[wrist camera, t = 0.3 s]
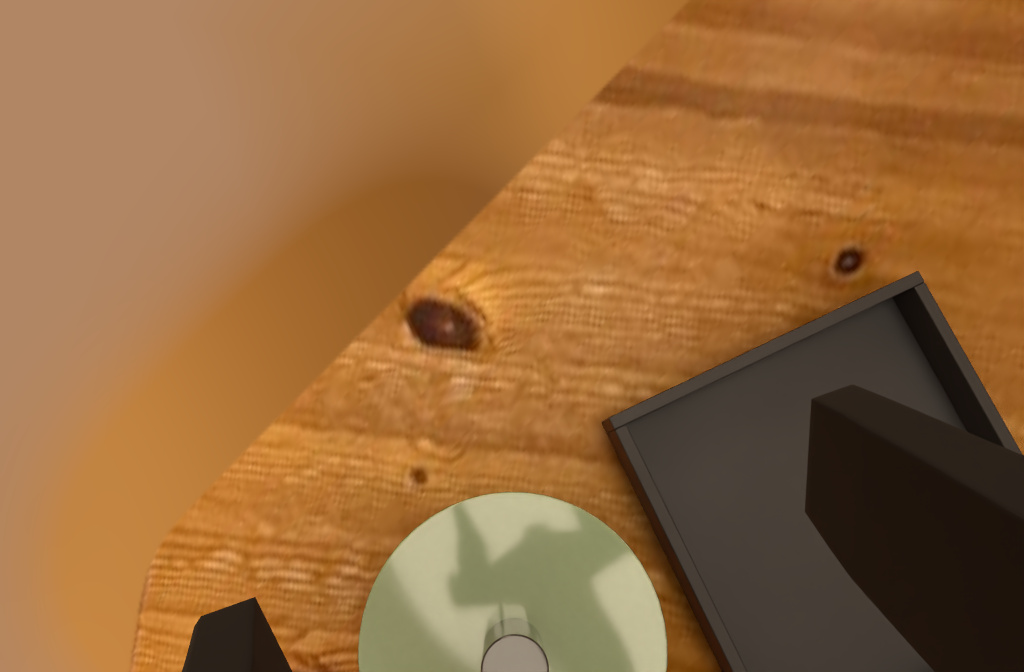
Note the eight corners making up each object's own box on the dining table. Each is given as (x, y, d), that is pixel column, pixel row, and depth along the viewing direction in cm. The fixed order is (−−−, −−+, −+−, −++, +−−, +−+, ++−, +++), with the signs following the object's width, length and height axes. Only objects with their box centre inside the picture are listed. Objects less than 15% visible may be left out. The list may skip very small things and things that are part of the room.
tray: (1072, 608, 39) (1115, 617, 36) (768, 767, 37) (790, 790, 35) (890, 284, 41) (918, 270, 39) (601, 422, 40) (608, 417, 37)
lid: (715, 720, 33) (749, 758, 29) (437, 863, 32) (427, 927, 28) (581, 442, 35) (594, 437, 30) (315, 569, 34) (286, 583, 29)
